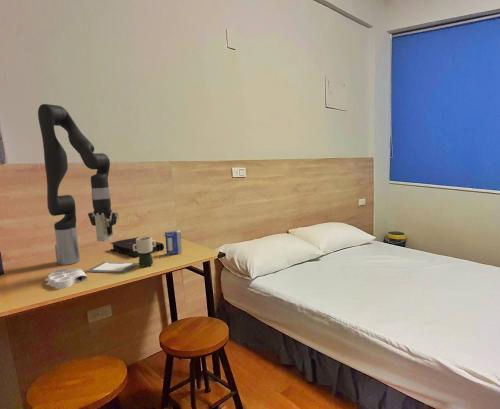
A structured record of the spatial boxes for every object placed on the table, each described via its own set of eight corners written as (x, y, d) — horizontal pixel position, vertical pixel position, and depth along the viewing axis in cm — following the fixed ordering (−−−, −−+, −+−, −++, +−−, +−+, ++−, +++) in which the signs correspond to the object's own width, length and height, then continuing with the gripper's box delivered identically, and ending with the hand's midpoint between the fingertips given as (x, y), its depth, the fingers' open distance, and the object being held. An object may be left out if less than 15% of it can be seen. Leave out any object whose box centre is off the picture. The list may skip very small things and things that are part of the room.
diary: (139, 244, 194) (139, 236, 193) (164, 251, 177) (163, 242, 177) (109, 251, 180) (108, 242, 179) (132, 259, 163) (132, 249, 163)
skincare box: (105, 242, 147) (102, 215, 145) (96, 241, 147) (94, 215, 146) (113, 238, 153) (111, 212, 151) (105, 238, 154) (103, 213, 152)
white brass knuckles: (89, 283, 133) (47, 293, 124) (81, 271, 147) (43, 279, 139) (88, 275, 132) (46, 284, 124) (80, 264, 147) (42, 272, 138)
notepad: (85, 272, 145) (85, 270, 145) (103, 262, 158) (103, 261, 158) (124, 273, 142) (124, 271, 142) (139, 263, 155) (139, 262, 154)
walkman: (166, 255, 167) (165, 232, 165) (166, 253, 170) (165, 231, 168) (182, 253, 169) (180, 231, 167) (182, 252, 172) (180, 230, 170)
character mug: (154, 261, 158) (152, 235, 156) (160, 264, 153) (158, 237, 151) (131, 266, 151) (129, 239, 149) (137, 270, 146) (135, 241, 144)
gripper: (81, 199, 145) (85, 236, 147) (110, 198, 142) (114, 236, 145) (92, 197, 152) (96, 232, 155) (120, 196, 150) (123, 232, 152)
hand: (104, 234), depth 150 cm, fingers closed on skincare box, 4 cm apart
